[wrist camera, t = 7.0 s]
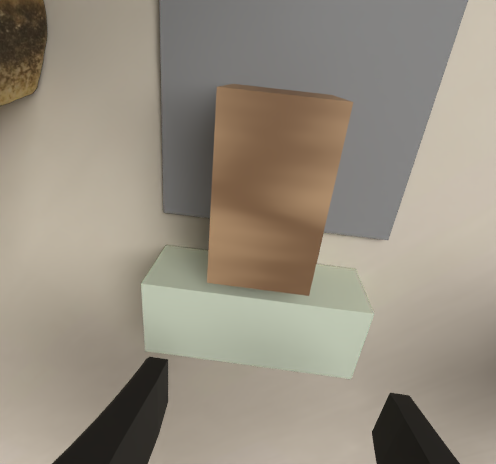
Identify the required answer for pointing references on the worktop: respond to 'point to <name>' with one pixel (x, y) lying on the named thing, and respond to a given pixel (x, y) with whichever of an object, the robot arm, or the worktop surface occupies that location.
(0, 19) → the rock
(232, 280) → the walnut block
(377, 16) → the mat
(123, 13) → the worktop surface
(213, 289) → the pale green rectangular block
